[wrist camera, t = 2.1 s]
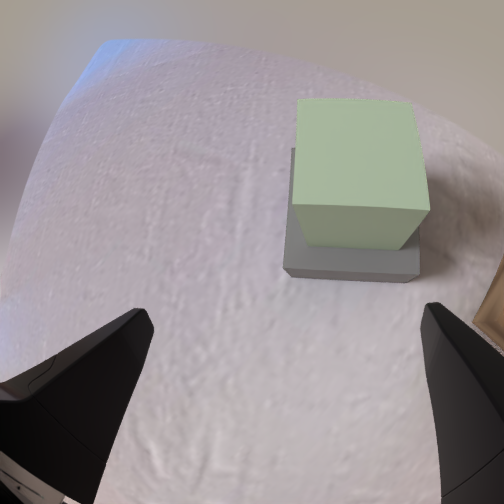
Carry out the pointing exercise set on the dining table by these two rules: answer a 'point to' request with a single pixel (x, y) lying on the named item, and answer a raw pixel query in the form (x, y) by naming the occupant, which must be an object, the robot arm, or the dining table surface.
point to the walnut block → (493, 309)
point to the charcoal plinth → (346, 256)
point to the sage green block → (358, 173)
